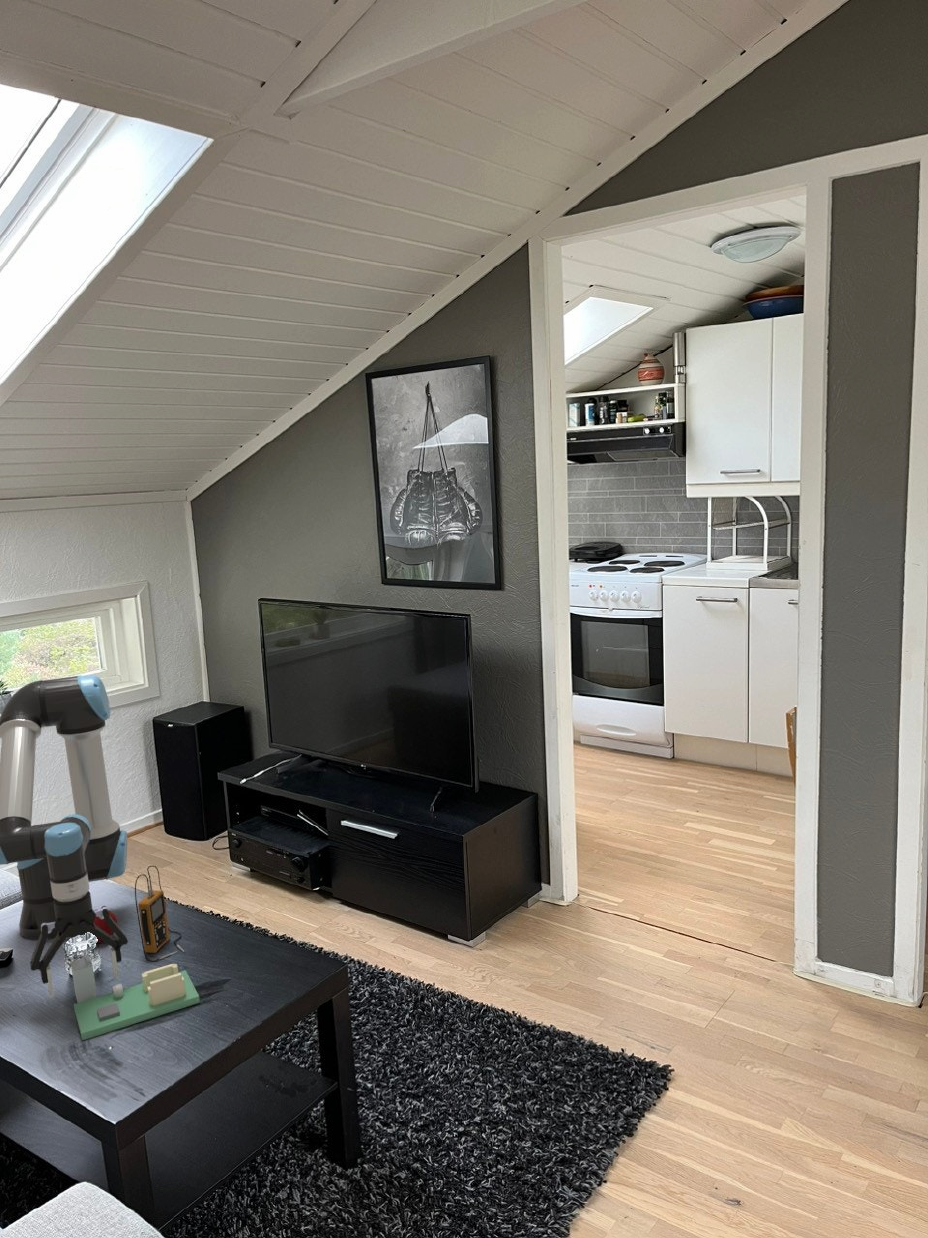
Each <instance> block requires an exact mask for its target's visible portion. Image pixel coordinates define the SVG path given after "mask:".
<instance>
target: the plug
mask: <svg viewBox="0 0 928 1238" xmlns="http://www.w3.org/2000/svg"><path fill="white" fill-rule="evenodd" d="M93 966H94V965H93V962H92V960H91V957H90V956H89V954H84V957H82V958H79V959H76V960H72V961H70V967H71V973H72V980H73V986H74V993H75V999H76V1002H77V1003H80V1002H83V1001H87V1000H90V999H93V998H96V997H98V993H97V988H96V986H97V985H96V980H95V972H94V967H93Z"/></svg>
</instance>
